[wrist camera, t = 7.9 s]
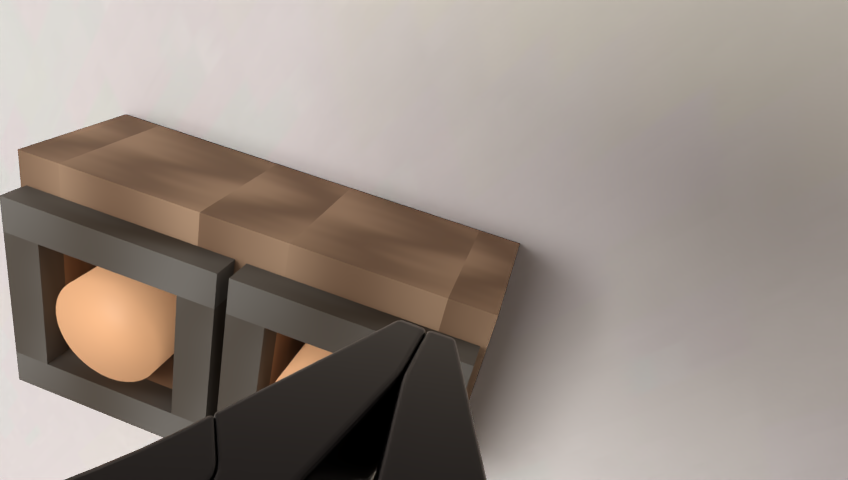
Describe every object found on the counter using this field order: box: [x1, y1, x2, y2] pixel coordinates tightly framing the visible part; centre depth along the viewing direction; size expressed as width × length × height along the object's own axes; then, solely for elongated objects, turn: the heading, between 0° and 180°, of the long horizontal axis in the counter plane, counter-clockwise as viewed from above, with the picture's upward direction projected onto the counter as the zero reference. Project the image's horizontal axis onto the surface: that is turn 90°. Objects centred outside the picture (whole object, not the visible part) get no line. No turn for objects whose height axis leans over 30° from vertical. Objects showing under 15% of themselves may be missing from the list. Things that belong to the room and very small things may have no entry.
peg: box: [56, 266, 177, 382], centre depth 23 cm, size 4×4×6 cm
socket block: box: [0, 114, 520, 480], centre depth 23 cm, size 16×10×6 cm, turn 77°
